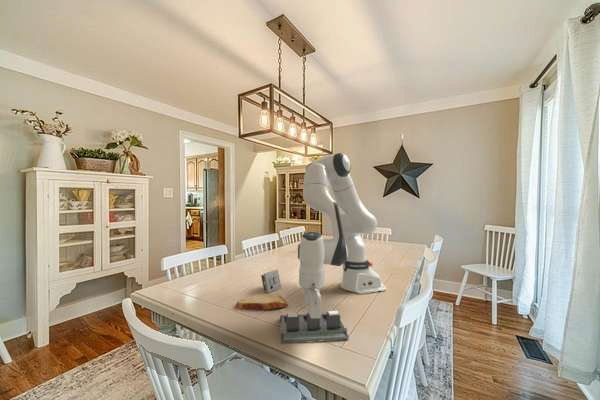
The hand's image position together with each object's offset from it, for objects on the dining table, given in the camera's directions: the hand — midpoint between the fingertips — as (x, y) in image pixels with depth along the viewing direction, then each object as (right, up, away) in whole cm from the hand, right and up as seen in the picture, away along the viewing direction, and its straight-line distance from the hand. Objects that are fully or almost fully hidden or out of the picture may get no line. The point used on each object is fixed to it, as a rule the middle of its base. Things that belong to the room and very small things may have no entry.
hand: (311, 318), depth 85 cm
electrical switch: (-18, -3, +35) cm, 40 cm away
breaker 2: (+8, -2, -2) cm, 8 cm away
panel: (0, -4, 0) cm, 4 cm away
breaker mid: (+1, -2, -3) cm, 4 cm away
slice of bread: (-20, -4, +18) cm, 27 cm away
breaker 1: (-6, -2, -4) cm, 8 cm away
